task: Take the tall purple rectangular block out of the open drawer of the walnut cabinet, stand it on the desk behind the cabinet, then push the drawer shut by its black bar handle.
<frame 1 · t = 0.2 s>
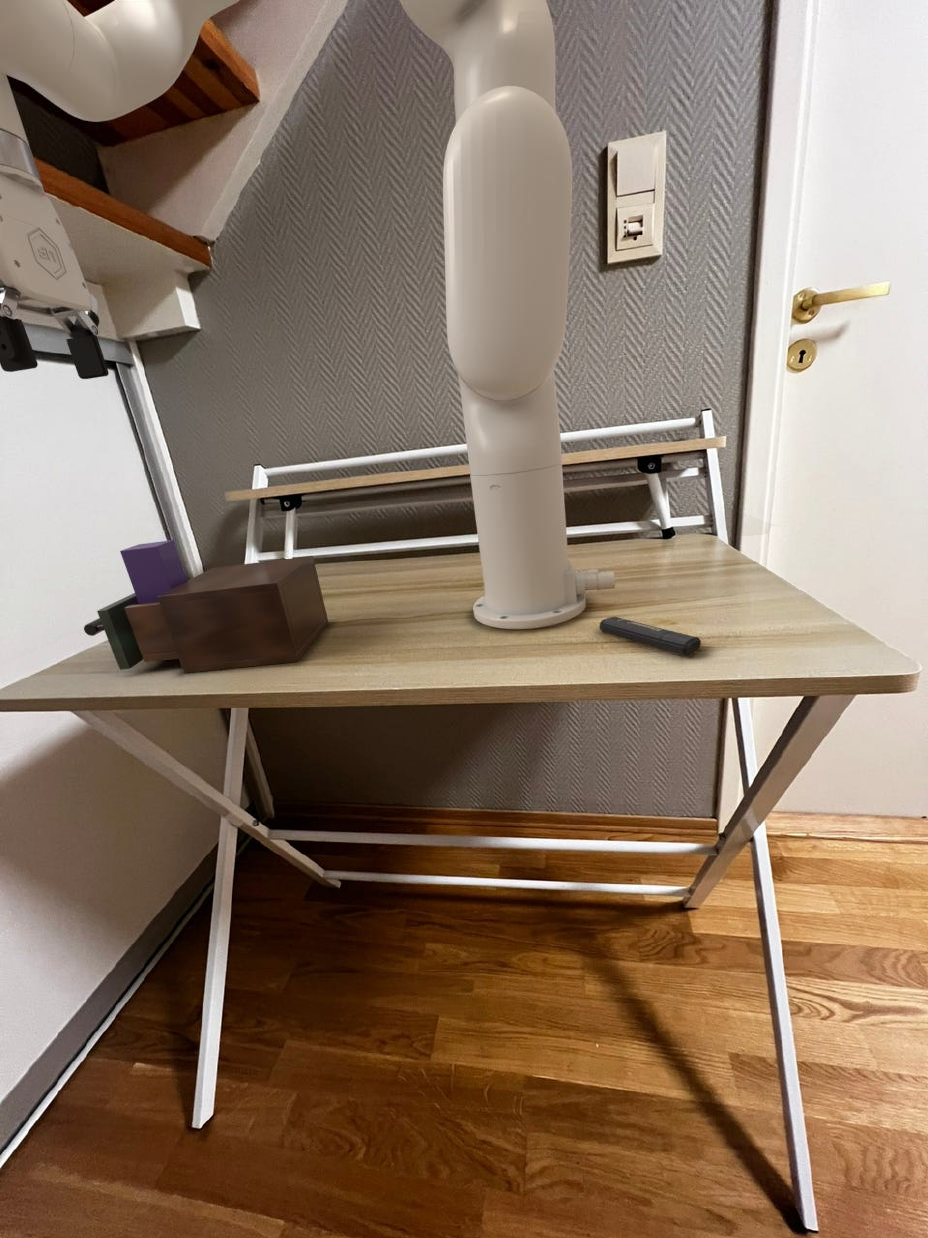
hand: (60, 373, 55), 31 cm above the table, tool pointing down, fingers open, 9 cm apart
drawer: (168, 620, 61), point 4 cm above the table, slide at 6.2 cm, touching purple rectangular block
cabinet: (261, 646, 61), on the table
purple rectangular block: (179, 638, 61), point 2 cm above the table, touching drawer
usb stick: (647, 644, 49), on the table
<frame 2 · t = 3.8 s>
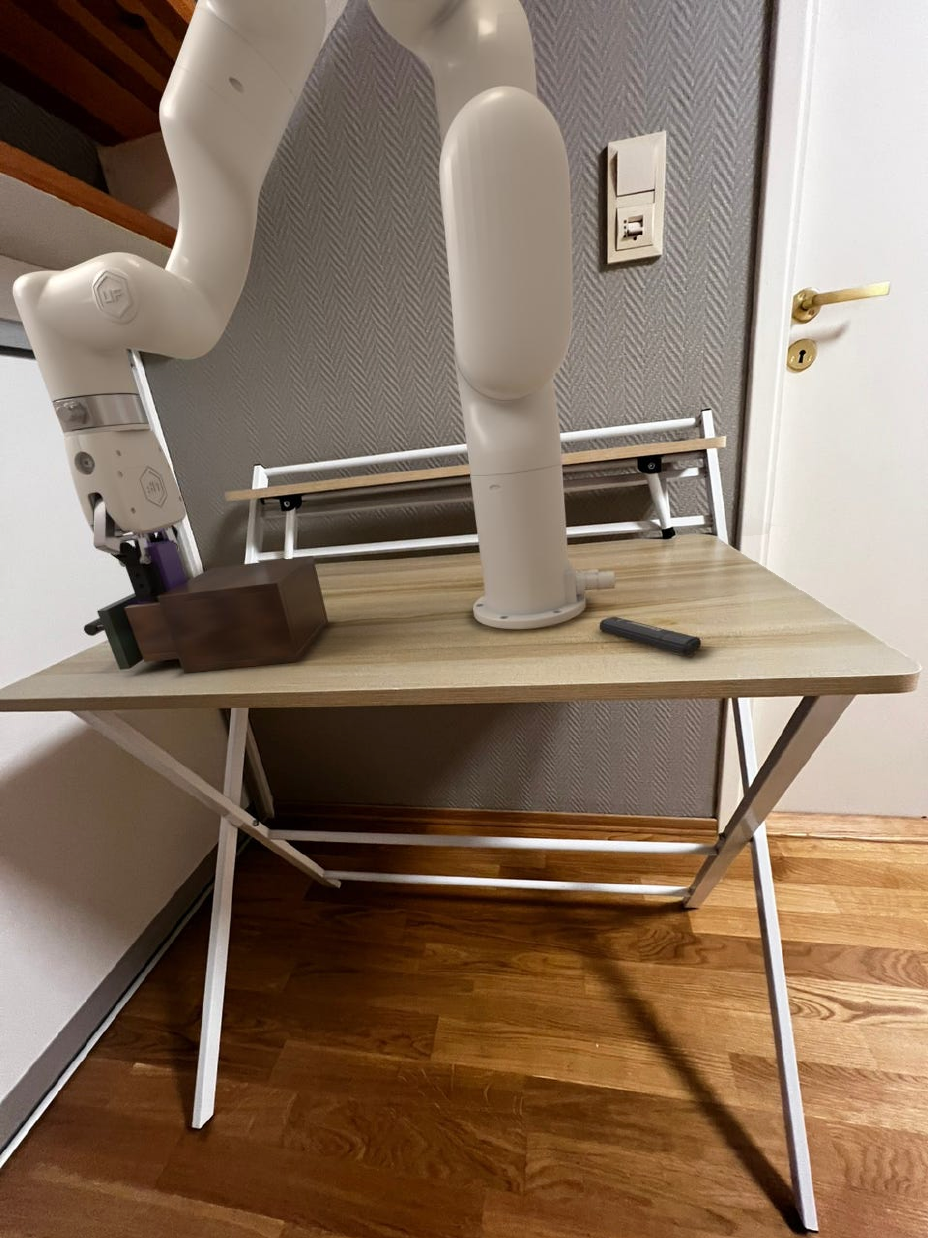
hand: (163, 592, 60), 8 cm above the table, tool pointing down, fingers closed on purple rectangular block, 3 cm apart
purple rectangular block: (179, 638, 61), point 2 cm above the table, touching drawer, gripper
everything else where it was.
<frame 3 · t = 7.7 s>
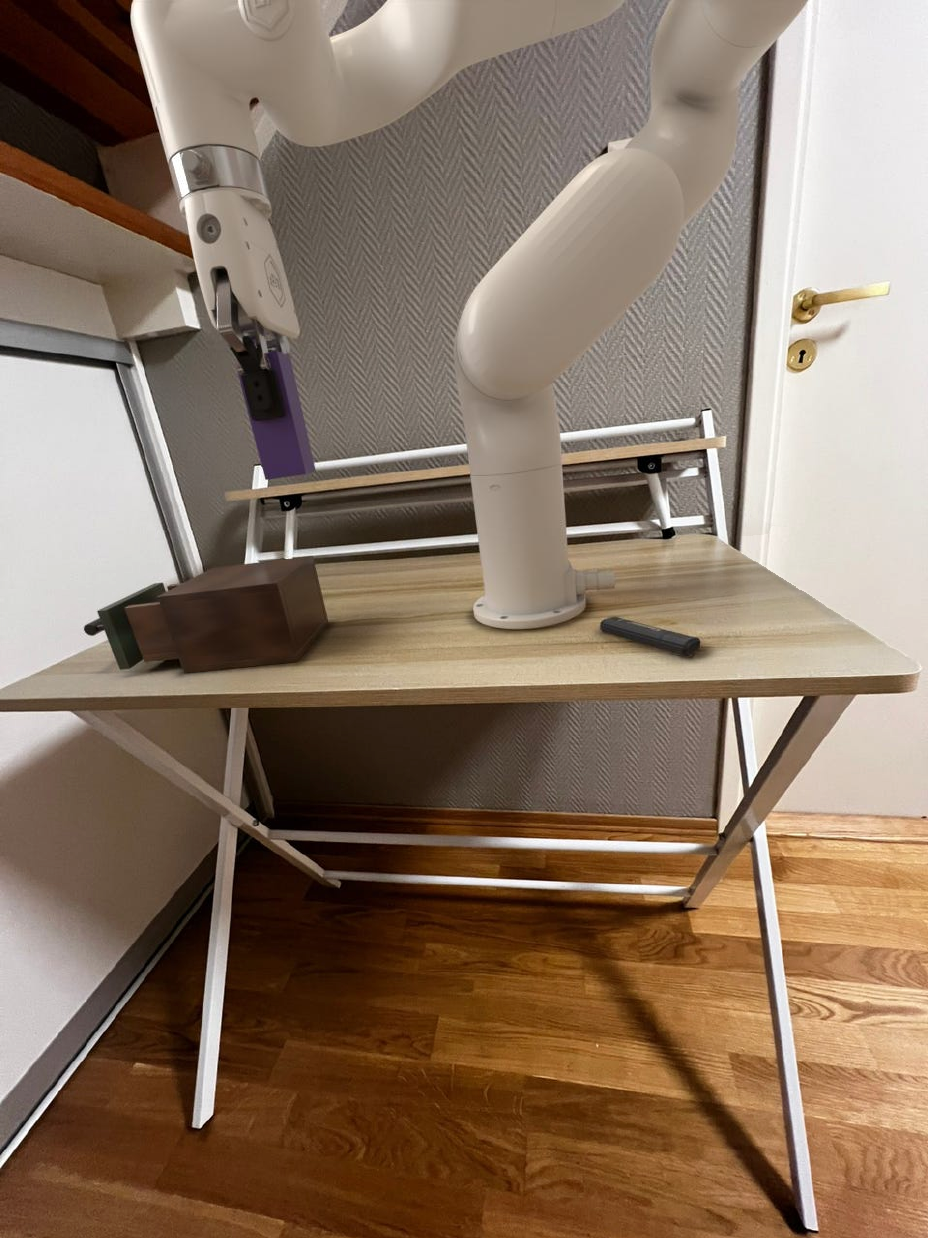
hand: (277, 416, 52), 24 cm above the table, tool pointing down, fingers closed on purple rectangular block, 3 cm apart
drawer: (168, 620, 61), point 4 cm above the table, slide at 6.2 cm
purple rectangular block: (291, 475, 54), point 18 cm above the table, touching gripper
everything else where it was.
when the fingers open (6 cm above the table, at t = 11.9 s): purple rectangular block stays where it is, on the table.
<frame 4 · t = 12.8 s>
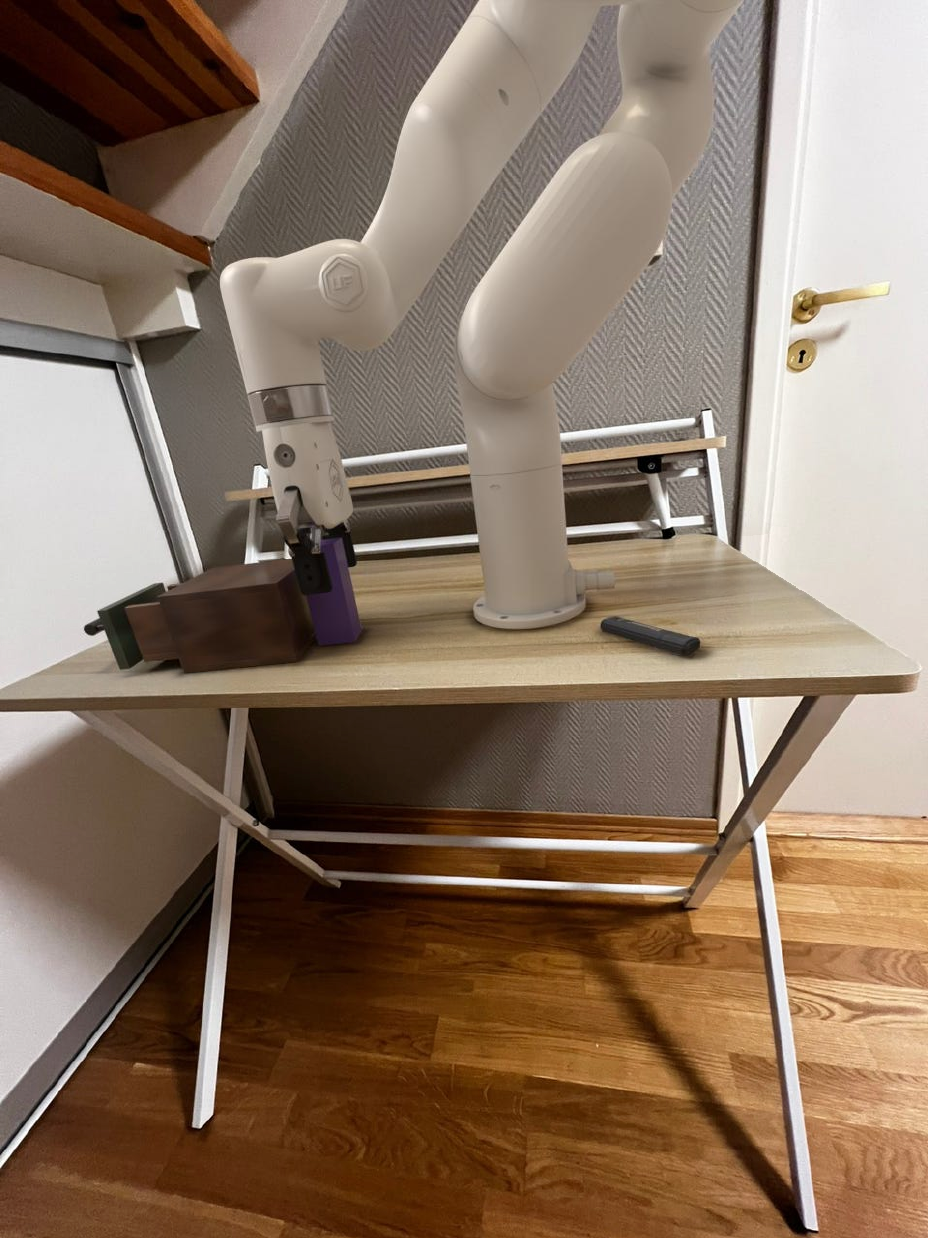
hand: (331, 579, 58), 7 cm above the table, tool pointing down, fingers open, 9 cm apart
purple rectangular block: (340, 638, 60), on the table
everything else where it was.
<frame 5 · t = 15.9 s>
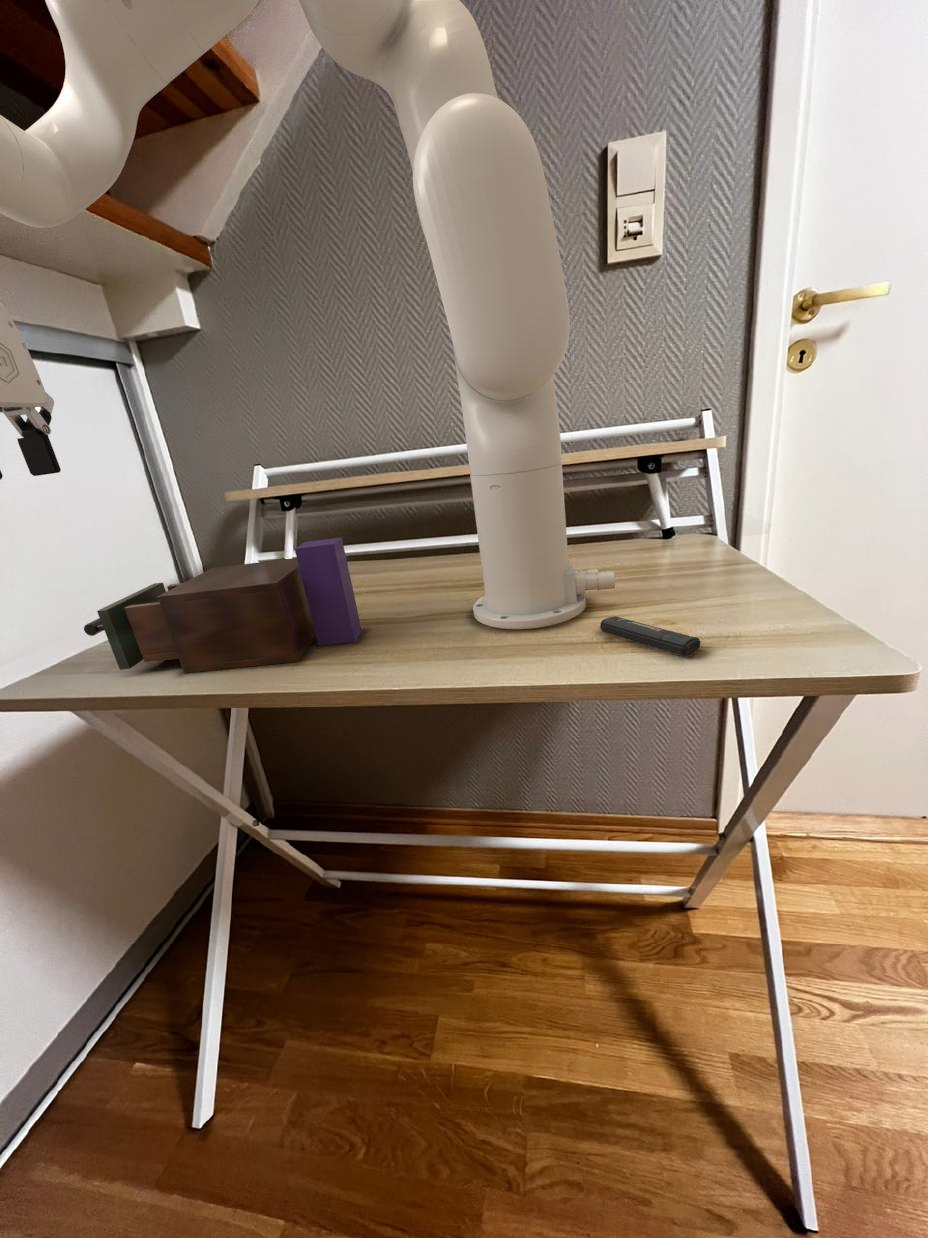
hand: (18, 476, 56), 22 cm above the table, tool pointing down, fingers open, 6 cm apart
nothing on the table moved.
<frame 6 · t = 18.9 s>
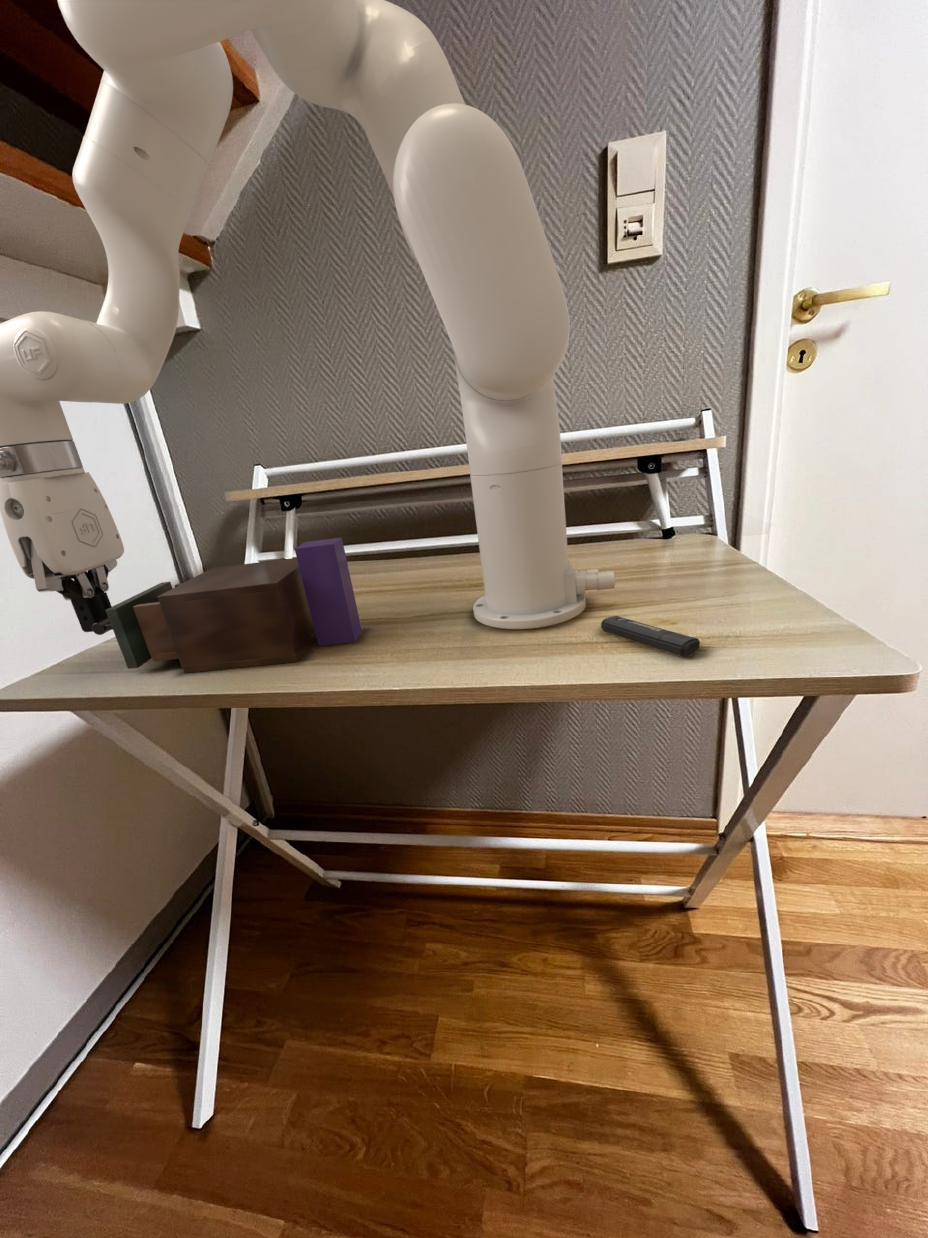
hand: (100, 628, 62), 4 cm above the table, tool pointing down, fingers closed
drawer: (176, 619, 61), point 4 cm above the table, slide at 5.2 cm
everything else where it was.
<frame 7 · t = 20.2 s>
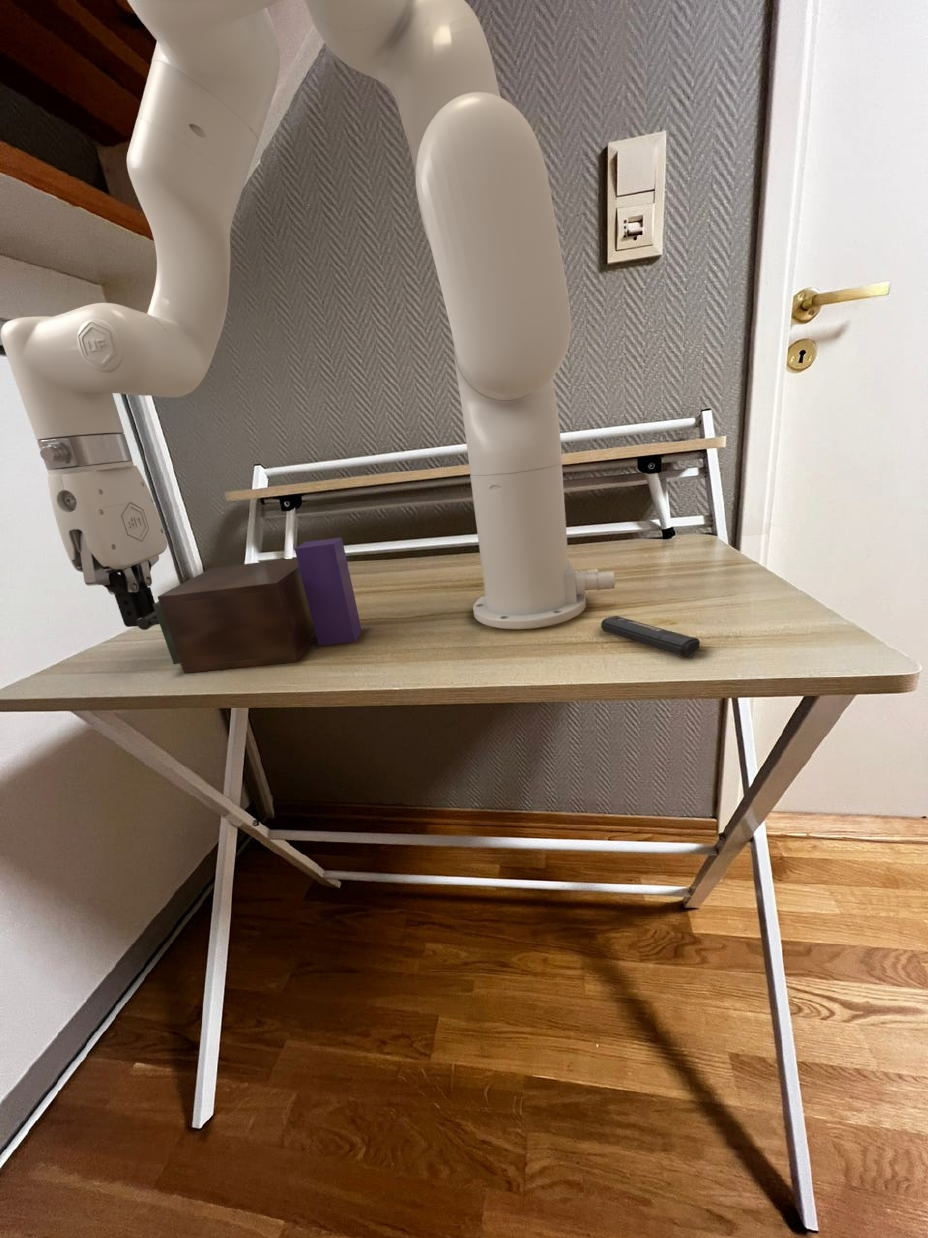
hand: (142, 623, 61), 4 cm above the table, tool pointing down, fingers closed
drawer: (220, 615, 60), point 4 cm above the table, slide at 0.0 cm, touching cabinet, gripper
everything else where it was.
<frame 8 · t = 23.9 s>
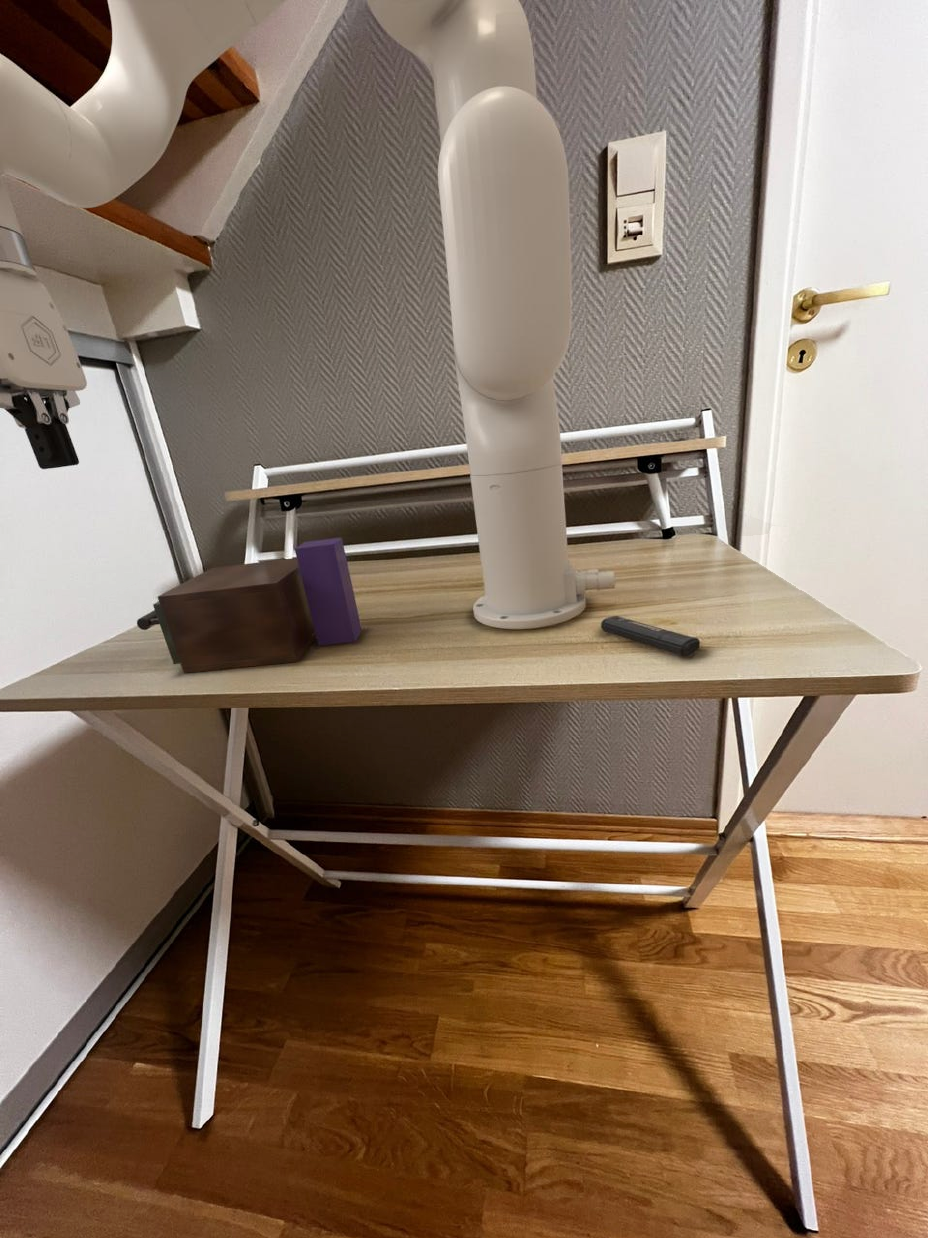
hand: (60, 466, 55), 22 cm above the table, tool pointing down, fingers closed
drawer: (220, 615, 60), point 4 cm above the table, slide at 0.0 cm, touching cabinet
everything else where it was.
at the end: purple rectangular block inside the target area (0.4 cm from its centre), on the table; purple rectangular block tilted 0°; drawer slide at 0.0 cm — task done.
